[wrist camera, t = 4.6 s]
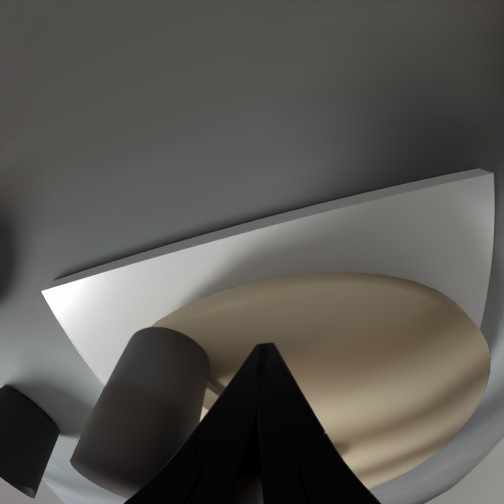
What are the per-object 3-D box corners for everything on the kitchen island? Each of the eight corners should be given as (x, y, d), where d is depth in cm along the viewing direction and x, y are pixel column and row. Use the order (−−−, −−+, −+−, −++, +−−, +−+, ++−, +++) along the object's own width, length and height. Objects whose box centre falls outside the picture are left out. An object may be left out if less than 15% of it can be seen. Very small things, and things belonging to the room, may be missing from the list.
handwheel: (476, 398, 15) (512, 472, 8) (262, 490, 21) (260, 557, 14) (385, 129, 9) (587, 167, 1) (61, 365, 14) (6, 458, 7)
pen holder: (-5, 390, 21) (-39, 443, 12) (6, 373, 19) (-38, 440, 9) (49, 438, 24) (24, 494, 15) (74, 432, 21) (43, 503, 12)
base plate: (438, 427, 19) (441, 436, 18) (203, 473, 22) (202, 483, 21) (478, 168, 10) (493, 173, 9) (52, 280, 13) (41, 291, 12)
